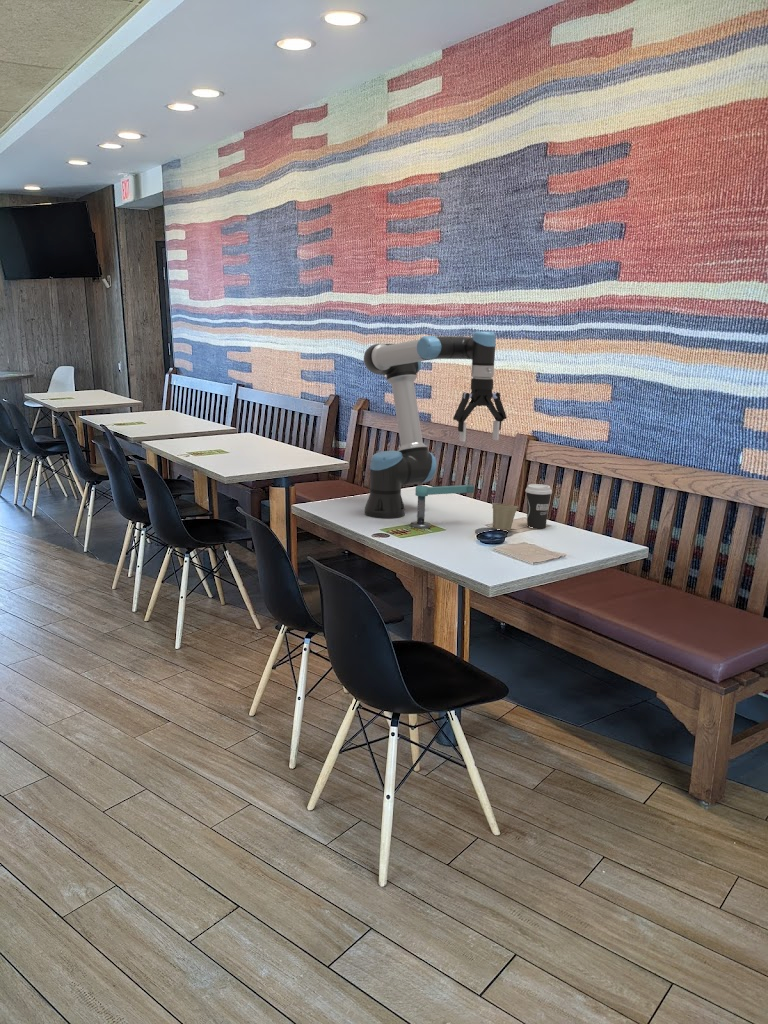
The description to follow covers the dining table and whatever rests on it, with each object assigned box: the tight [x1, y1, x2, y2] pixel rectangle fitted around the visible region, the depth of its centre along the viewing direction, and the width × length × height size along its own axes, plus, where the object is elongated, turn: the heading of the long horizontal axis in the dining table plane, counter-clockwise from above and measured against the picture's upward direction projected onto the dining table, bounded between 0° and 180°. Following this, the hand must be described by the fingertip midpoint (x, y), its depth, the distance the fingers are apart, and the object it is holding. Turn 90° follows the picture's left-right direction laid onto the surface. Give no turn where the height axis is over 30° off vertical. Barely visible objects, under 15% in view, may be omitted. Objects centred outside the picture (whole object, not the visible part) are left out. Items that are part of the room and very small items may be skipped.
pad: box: [474, 527, 513, 538], centre depth 288 cm, size 13×13×1 cm
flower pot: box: [491, 502, 519, 531], centre depth 290 cm, size 9×9×9 cm
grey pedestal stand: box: [410, 496, 431, 530], centre depth 294 cm, size 7×7×11 cm
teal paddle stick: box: [414, 484, 475, 497], centre depth 296 cm, size 22×4×3 cm, turn 112°
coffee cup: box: [525, 483, 553, 530], centre depth 297 cm, size 10×10×15 cm
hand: (479, 440), depth 284 cm, fingers open, 13 cm apart
